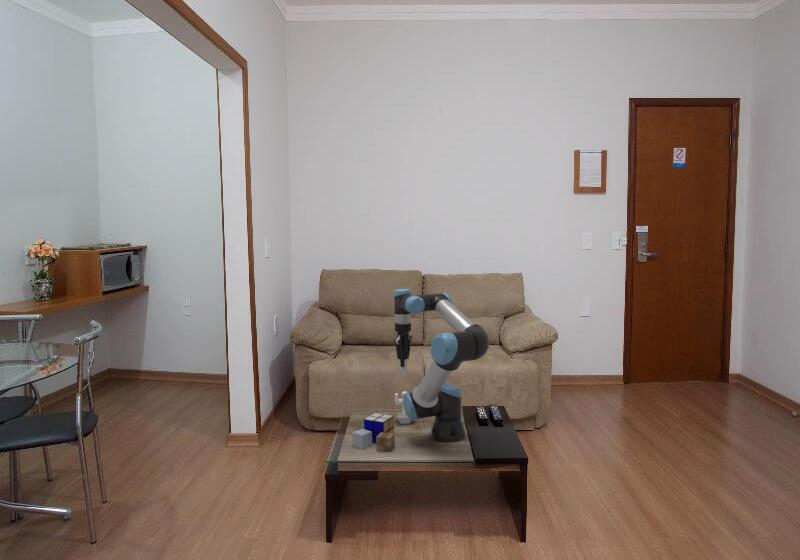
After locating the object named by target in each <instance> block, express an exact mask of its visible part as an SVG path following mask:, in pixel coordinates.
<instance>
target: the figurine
mask: <svg viewBox="0 0 800 560" xmlns="http://www.w3.org/2000/svg"><path fill="white" fill-rule="evenodd" d="M407 392H408V391H406V390H405V391H402V392H401V398H399V393H397V392H396V393H395V394H394V403H395V404H394V405H396V406H402V412H397V420H398V421H399V423H400V424H399V425H410V424H411V422H412V420H411V419H409V418H408V417H407V415H406V413H405V410H404V406H403V396H404V394H405V393H407Z"/></svg>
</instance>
